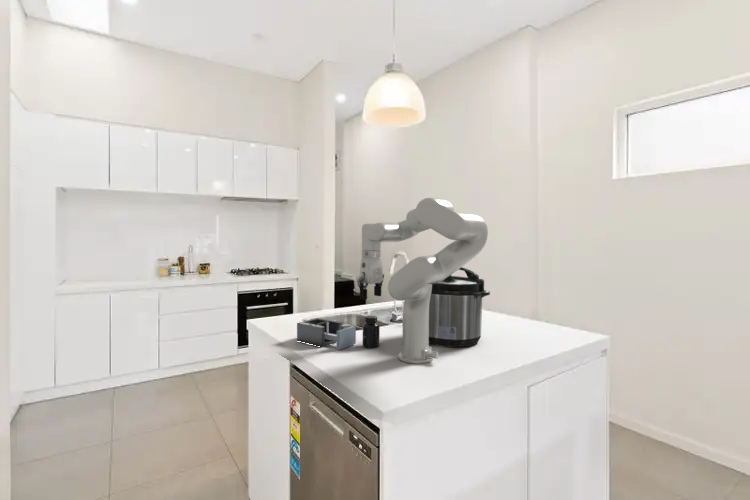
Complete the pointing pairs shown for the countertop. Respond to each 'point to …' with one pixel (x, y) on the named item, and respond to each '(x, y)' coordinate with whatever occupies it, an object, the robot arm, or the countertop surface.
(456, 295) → the pressure cooker
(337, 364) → the countertop surface
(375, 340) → the supplement bottle
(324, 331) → the box
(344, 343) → the gauge plunger
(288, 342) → the countertop surface
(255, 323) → the countertop surface
